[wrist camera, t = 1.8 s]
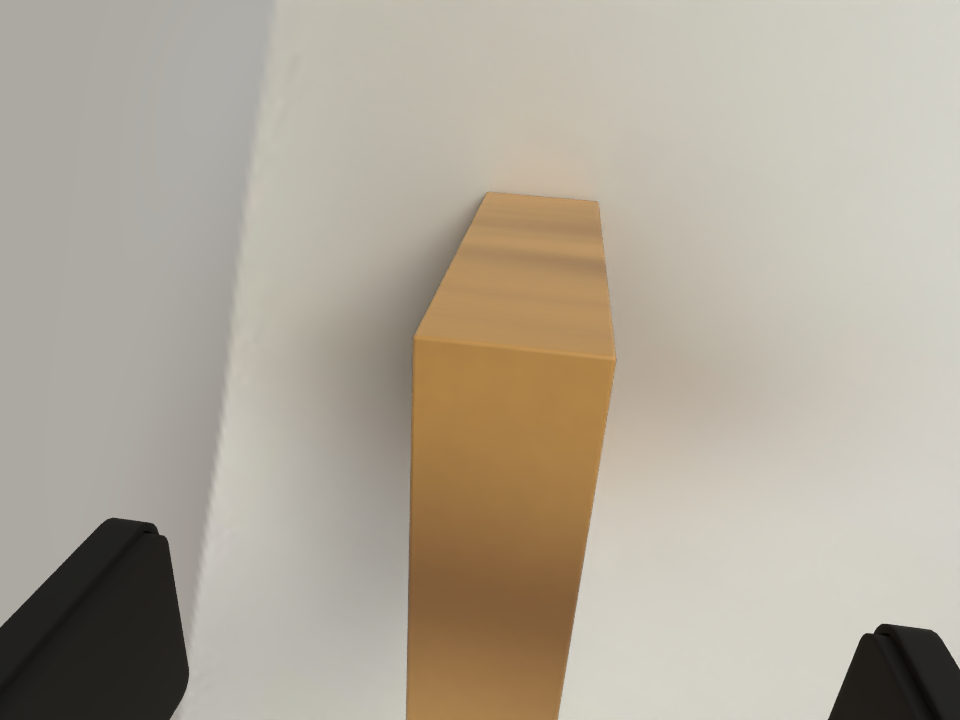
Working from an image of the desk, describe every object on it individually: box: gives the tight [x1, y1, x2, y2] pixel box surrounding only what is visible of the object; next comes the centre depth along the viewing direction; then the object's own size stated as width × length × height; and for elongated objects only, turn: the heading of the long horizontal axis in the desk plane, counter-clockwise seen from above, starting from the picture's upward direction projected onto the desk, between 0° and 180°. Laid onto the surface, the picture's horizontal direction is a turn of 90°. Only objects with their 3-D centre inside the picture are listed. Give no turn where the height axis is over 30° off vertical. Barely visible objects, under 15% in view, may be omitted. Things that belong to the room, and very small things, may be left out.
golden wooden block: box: [406, 192, 617, 720], centre depth 13 cm, size 8×2×8 cm, turn 177°
